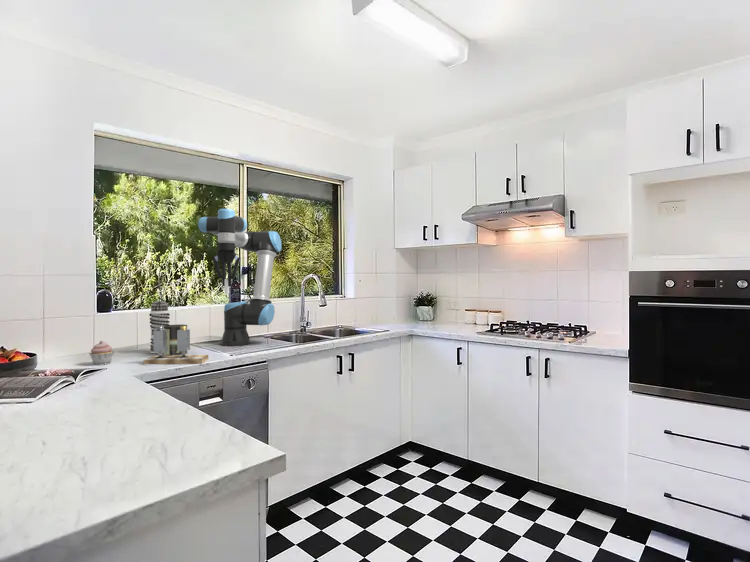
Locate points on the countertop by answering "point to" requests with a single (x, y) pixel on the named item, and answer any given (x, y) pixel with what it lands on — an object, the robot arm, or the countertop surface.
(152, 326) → the decorative candle
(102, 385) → the countertop surface
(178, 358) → the board
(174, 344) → the coffee can
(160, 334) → the fixed leg
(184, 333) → the block
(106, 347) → the cupcake
